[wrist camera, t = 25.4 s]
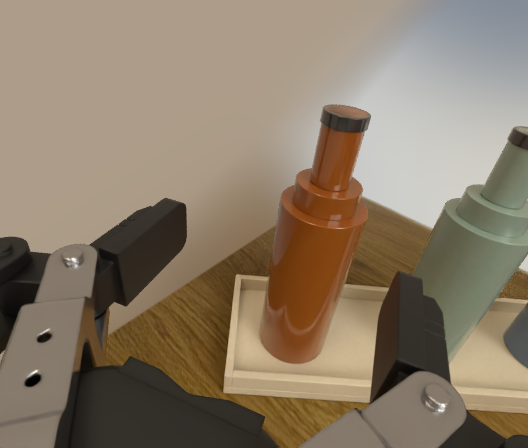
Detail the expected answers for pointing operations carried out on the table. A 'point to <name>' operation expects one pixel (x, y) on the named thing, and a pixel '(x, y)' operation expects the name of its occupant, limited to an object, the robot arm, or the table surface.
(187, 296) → the table surface
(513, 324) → the slate-blue bottle
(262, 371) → the tray
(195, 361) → the table surface
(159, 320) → the table surface
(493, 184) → the grey-green bottle
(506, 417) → the table surface
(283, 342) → the amber bottle
